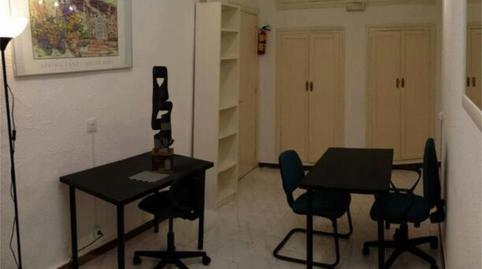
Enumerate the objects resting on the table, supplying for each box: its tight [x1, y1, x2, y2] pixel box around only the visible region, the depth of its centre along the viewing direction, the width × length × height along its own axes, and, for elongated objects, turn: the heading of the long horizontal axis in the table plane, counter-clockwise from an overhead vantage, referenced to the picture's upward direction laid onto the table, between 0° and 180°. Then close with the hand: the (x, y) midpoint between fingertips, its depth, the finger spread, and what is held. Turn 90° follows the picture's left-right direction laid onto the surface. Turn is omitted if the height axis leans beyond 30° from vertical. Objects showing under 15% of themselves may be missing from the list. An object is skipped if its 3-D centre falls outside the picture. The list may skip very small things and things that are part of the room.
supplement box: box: [151, 147, 175, 174], centre depth 347 cm, size 10×15×16 cm
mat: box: [128, 170, 171, 183], centre depth 336 cm, size 22×19×1 cm
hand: (167, 151), depth 351 cm, fingers closed
